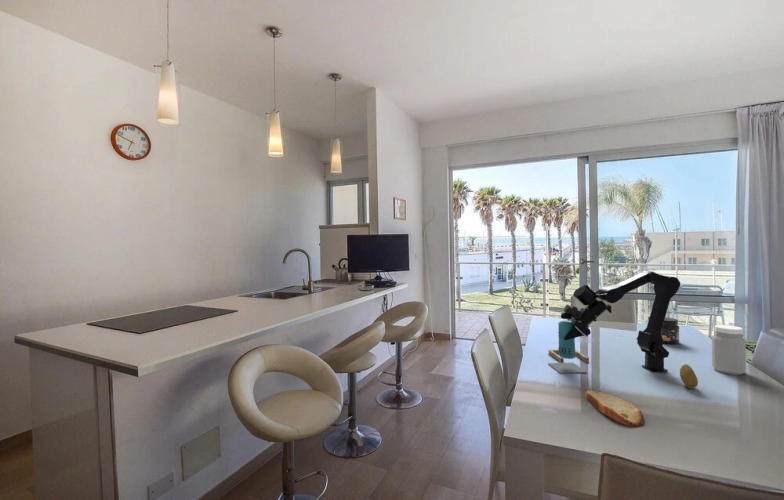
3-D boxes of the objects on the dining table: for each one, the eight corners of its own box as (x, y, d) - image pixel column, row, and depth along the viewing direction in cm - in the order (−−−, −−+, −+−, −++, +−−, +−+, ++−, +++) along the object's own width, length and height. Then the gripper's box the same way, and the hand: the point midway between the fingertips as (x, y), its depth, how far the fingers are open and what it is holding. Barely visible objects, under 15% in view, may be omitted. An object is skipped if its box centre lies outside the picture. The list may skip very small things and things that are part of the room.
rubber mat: (586, 373, 143) (586, 371, 143) (560, 373, 143) (560, 372, 143) (573, 363, 154) (573, 362, 154) (548, 364, 154) (548, 363, 154)
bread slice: (586, 393, 125) (586, 383, 125) (648, 408, 113) (648, 397, 113) (573, 412, 112) (572, 401, 112) (641, 431, 100) (641, 419, 100)
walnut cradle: (588, 362, 155) (588, 357, 155) (561, 363, 155) (560, 358, 155) (574, 353, 168) (574, 349, 168) (548, 354, 168) (548, 349, 168)
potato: (693, 392, 123) (692, 370, 123) (670, 384, 130) (670, 363, 130) (707, 390, 125) (707, 367, 125) (684, 382, 132) (684, 361, 132)
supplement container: (649, 340, 185) (649, 318, 185) (661, 338, 189) (660, 316, 189) (672, 345, 175) (672, 322, 175) (683, 342, 180) (683, 319, 180)
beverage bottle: (571, 357, 152) (570, 311, 151) (578, 362, 145) (577, 314, 144) (556, 357, 152) (555, 311, 152) (562, 362, 146) (561, 314, 145)
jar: (752, 376, 136) (752, 330, 135) (723, 375, 138) (723, 329, 137) (733, 367, 145) (733, 324, 145) (706, 366, 147) (706, 323, 147)
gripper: (572, 294, 156) (545, 318, 159) (580, 302, 138) (550, 328, 142) (592, 313, 153) (565, 336, 157) (603, 322, 136) (572, 349, 139)
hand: (563, 337), depth 149 cm, fingers closed on beverage bottle, 6 cm apart
